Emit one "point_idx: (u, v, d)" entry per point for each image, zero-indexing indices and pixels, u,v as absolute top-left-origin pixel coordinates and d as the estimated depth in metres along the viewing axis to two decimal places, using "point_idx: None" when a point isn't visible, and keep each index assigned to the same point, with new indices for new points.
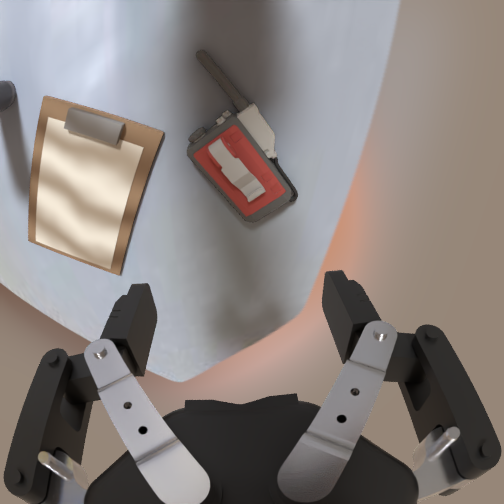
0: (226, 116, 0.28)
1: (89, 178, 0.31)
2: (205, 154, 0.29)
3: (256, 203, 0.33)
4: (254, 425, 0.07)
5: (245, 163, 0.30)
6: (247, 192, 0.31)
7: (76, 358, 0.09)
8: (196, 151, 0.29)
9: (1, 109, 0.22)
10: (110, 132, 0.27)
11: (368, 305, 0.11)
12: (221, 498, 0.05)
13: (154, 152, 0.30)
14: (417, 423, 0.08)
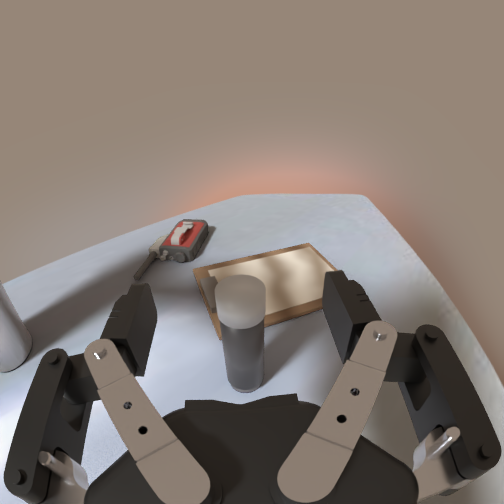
0: (162, 255, 0.52)
1: None
2: (184, 243, 0.52)
3: (193, 223, 0.59)
4: (254, 425, 0.07)
5: None
6: (190, 226, 0.57)
7: (76, 358, 0.09)
8: (185, 246, 0.52)
9: None
10: (208, 281, 0.45)
11: (368, 305, 0.11)
12: (221, 498, 0.05)
13: (206, 266, 0.50)
14: (417, 423, 0.08)
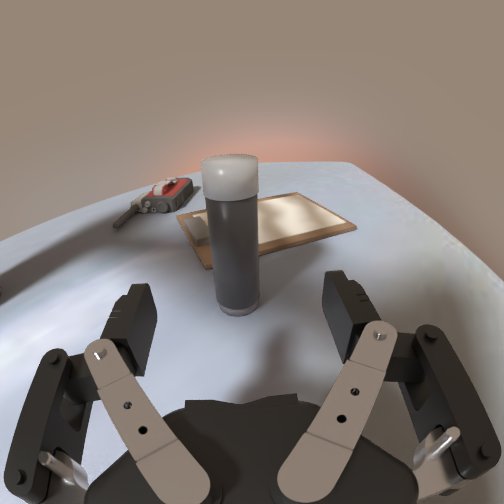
0: (145, 207, 0.49)
1: None
2: (167, 194, 0.49)
3: (178, 180, 0.55)
4: (254, 425, 0.07)
5: None
6: (174, 181, 0.54)
7: (76, 358, 0.09)
8: (168, 196, 0.48)
9: None
10: (193, 220, 0.41)
11: (368, 305, 0.11)
12: (221, 498, 0.05)
13: (191, 212, 0.46)
14: (417, 423, 0.08)
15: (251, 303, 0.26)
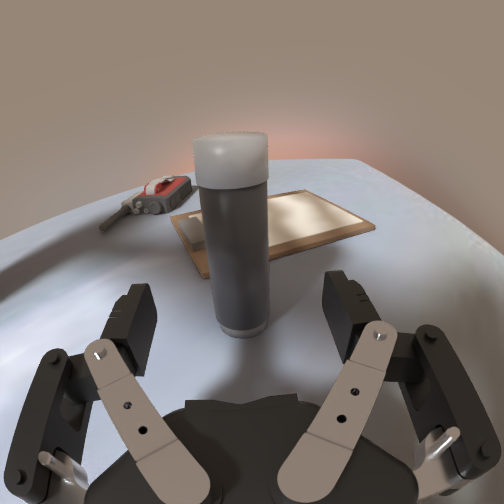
0: (136, 208, 0.43)
1: None
2: (160, 193, 0.43)
3: (174, 178, 0.50)
4: (254, 425, 0.07)
5: None
6: (170, 180, 0.48)
7: (76, 358, 0.09)
8: (161, 195, 0.43)
9: None
10: (189, 221, 0.36)
11: (368, 305, 0.11)
12: (221, 498, 0.05)
13: (187, 213, 0.41)
14: (417, 423, 0.08)
15: (260, 322, 0.20)
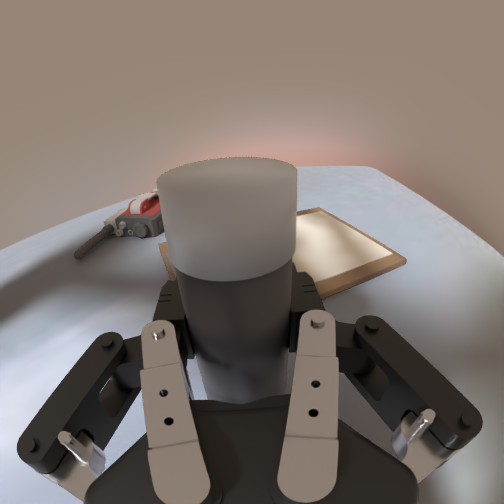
0: (119, 229, 0.37)
1: None
2: (147, 212, 0.36)
3: None
4: (254, 425, 0.07)
5: None
6: None
7: (129, 342, 0.10)
8: (147, 215, 0.36)
9: None
10: None
11: (315, 295, 0.12)
12: None
13: None
14: (382, 412, 0.08)
15: None
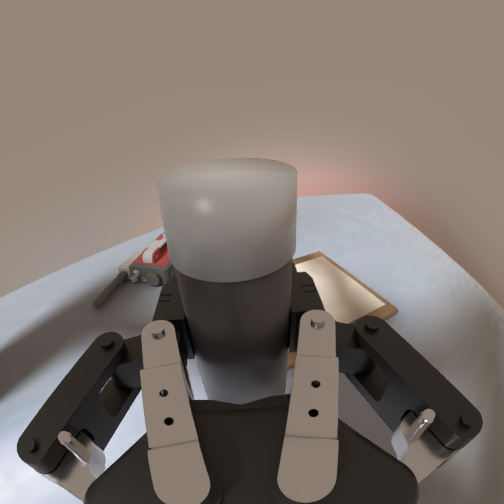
0: (133, 276, 0.40)
1: None
2: (158, 261, 0.40)
3: None
4: (254, 425, 0.07)
5: None
6: None
7: (129, 342, 0.10)
8: (159, 265, 0.39)
9: None
10: None
11: (315, 295, 0.12)
12: None
13: None
14: (382, 412, 0.08)
15: None
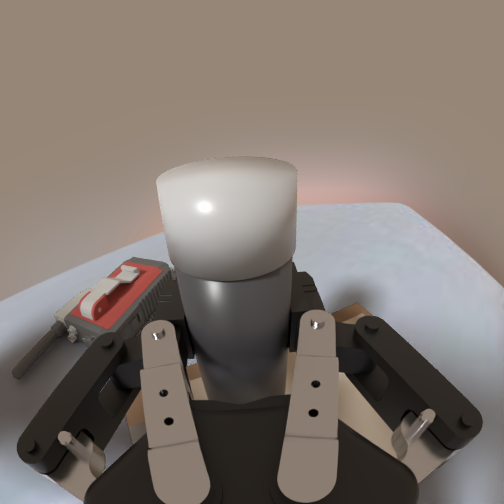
0: None
1: None
2: (102, 319, 0.23)
3: (143, 269, 0.29)
4: (254, 425, 0.07)
5: None
6: (131, 276, 0.28)
7: (129, 342, 0.10)
8: (101, 327, 0.22)
9: None
10: None
11: (315, 295, 0.12)
12: None
13: None
14: (382, 412, 0.08)
15: None
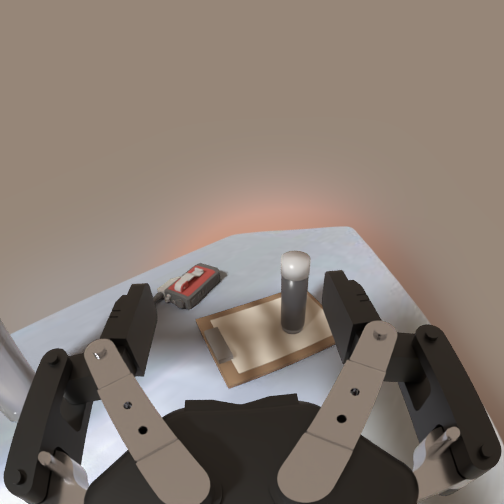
0: (167, 298, 0.57)
1: (254, 330, 0.49)
2: (185, 291, 0.55)
3: (205, 270, 0.62)
4: (254, 425, 0.07)
5: None
6: (199, 273, 0.60)
7: (76, 358, 0.09)
8: (185, 295, 0.55)
9: None
10: (212, 332, 0.47)
11: (368, 305, 0.11)
12: (221, 498, 0.05)
13: (208, 316, 0.52)
14: (417, 423, 0.08)
15: (301, 327, 0.47)
